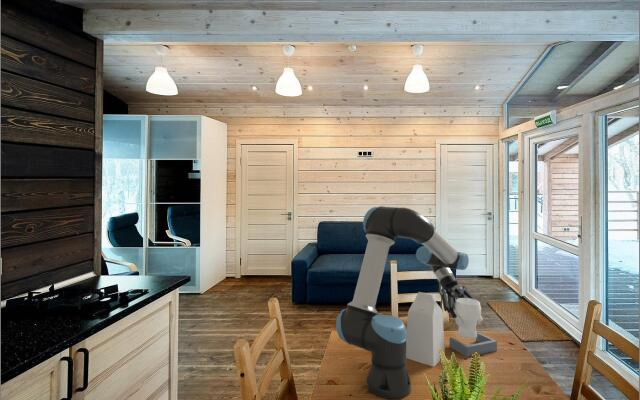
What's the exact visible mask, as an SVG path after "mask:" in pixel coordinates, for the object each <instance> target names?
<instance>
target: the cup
mask: <svg viewBox="0 0 640 400" xmlns="http://www.w3.org/2000/svg"><path fill="white" fill-rule="evenodd" d="M454 309H456V311H457V313H458V315H459V317H460V319H461V320H462V322H463V324H462V325H460V326H458V332H457V335H458V336H460V337H461V338H464V339H469V340H470V339H476V337H477V326H478V325H477V323H478V320H479V318H480V315H481V316H482V307H481V302H480V301H479V300H477V299H476V300H474V299H470V298H457V299H456V300H455V303H454Z"/></svg>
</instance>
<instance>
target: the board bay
mask: <svg viewBox="0 0 640 400" xmlns="http://www.w3.org/2000/svg"><path fill="white" fill-rule="evenodd" d="M448 341H449V342H448V343H449V344H448V345H449V346H448V347H449V348H451V349H453V350H454V351H456V352H458V353H460V354H461V355H463V356H465V357H466V358H470V357H473V356H472V354H473V353H475V352H478V353H479V355H483V354H484V355H485V354H487V353H492V352H493V353H494V352H497V351H498V341H497V340H495V339H493V338H492V337H489V336H486V335H485V334H482V333H480V332H479V331H478V332H477V337H476V338H475V341H476V342H477V343H472V344H468V345H467V344H464V343H462V342H461V341H459V340H457V339H455V338H454V337H450V336H449V339H448Z"/></svg>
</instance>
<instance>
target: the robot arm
mask: <svg viewBox="0 0 640 400" xmlns="http://www.w3.org/2000/svg"><path fill="white" fill-rule="evenodd" d="M362 225H363V228H362V229H363V230H364V232H365V238H366V239H367V244H366V248H365V253H364V256H363V260H362V264H361V266H360V267H361V268H360V270H359V271H360V272H359V276H358V278H357V283H356V287H355V290H354V294H353V299H352V301H350V302H349V303H347V305H346V308H343V309H342V310H341V311H340V312H339V313H338V315H337V318H336V322H335V323H336V324H335V327H336V333H337V336H338V338H339V339H340V340H341V341H342V342H345V343H346V344H348V345H352V346H355V347H357V348H360V349H362V350H364V351H367V352H370V353H371V364H370V367H369V370H368V373H367V376H366V388H367V390H368V391H369V392H370V393H371V394H373V395H374V396H376V397H379V398H382V399H389V400H390V399H391V400H398V399H402V398H405V397H407V396H409V395H410V393H411V391H412V381H411V378H410V375H409V371H408V369H407V358H406V339H407V335H406V332H407V326H406V324H405V323H404V322H403V320H401V319H400V318H398V317H397V316H394V315H391V314H385V313H384V314H383V313H382V314H381V313H380V314H379V313H378V311H377V309H376V305H377V299H378V295H379V291H380V287H381V283H382V280H383V275H384V272H385V267H386V263H387V259H388V254H389V251H390V247H391V246H393V245H394V244H395V242H396V238H402V239H409V240H412V241H414V242H415V243H417V244H421V245H423V246H420V247H418V248H417V250H416V252H415V257H416V259H417V260H418V262H420V263H422V264H424V265H426V266H428V267H430V268H431V270H432V272H433V273H434V276H435V277H436V278H437V279H436V280H437V281H438V282H439V285H440V287H441V289H440V290H439V291H438V293H439V295H440V297H441V302H442V307H443V311H444V312H447V313H448V314H450V317H452V319H454V321H455V323H456V325H457V326H458V327H459V326H460V325H462V324H463V322H462V320H461V319H460V317H459V315H458V313H457V311H456V309H455V308H454V298H457V299H459V298H470V299H474V300H477V299H476V298H475V297H474V296H473V295H472V293H471V292H470V291H469V290H468V289H467V287H466V286H465V285H463V286H460V285H459V284H458V280H457V277H455V275H454V273H453V271H452V270H451V269H453V270H461V271H465V270H467V268H468V266H469V261H470V260H469V255H468V254H467V253H466V252H461V251H460V252H459V251H457V250H456V248H454V247H453V246H452V245H451V244H450V243H449V242H448V241H447V240H446V239H445V238H444V237H443V236H441V234H440V233H439V232H438V231H437V230H436V229H435V226H434V224H433V223H432V221H430V220H429V219H428V218H426V217H425V216H424V215H422V214H421V213H419V212H418V211H415V210H414V209H411V208H407V207H398V206H397V207H393V206H384V205H383V206H382V205H381V206H373V207H371V208H369V209H368V210H367V211H366V213H365V215H364V217H363V220H362ZM483 320H484V319H483V317H482V314H481V315H480V318H479V320H478V322H477V323H479V324H480V323H481V322H482V321H483Z"/></svg>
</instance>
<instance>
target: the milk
mask: <svg viewBox="0 0 640 400" xmlns="http://www.w3.org/2000/svg"><path fill="white" fill-rule="evenodd" d="M443 312H444V311H443V310H442V308H441V306H440V305H439V304H438V302H436V299H435V296H434V294H432V293H427V292H421V291H418V292H417V294H416V296H415V298H414V300H413V302H412V303H411V306H410V307H409V308H408V312H407V318H406V320H407V321H406V335H407V339H406V359H408V360H411V361H413V362H414V361H415V362H416V363H417V362H418V363H421V364H423V365H428V366H429V367H430V366H431V367H435V366H436V365H437V364H439V362H440V361H441V360H440V353H439V348H441V349H442V350H443V351H444V352H445V338H444V337H445V335H444V333H445V332H444V330H445V329H444V313H443Z"/></svg>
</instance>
